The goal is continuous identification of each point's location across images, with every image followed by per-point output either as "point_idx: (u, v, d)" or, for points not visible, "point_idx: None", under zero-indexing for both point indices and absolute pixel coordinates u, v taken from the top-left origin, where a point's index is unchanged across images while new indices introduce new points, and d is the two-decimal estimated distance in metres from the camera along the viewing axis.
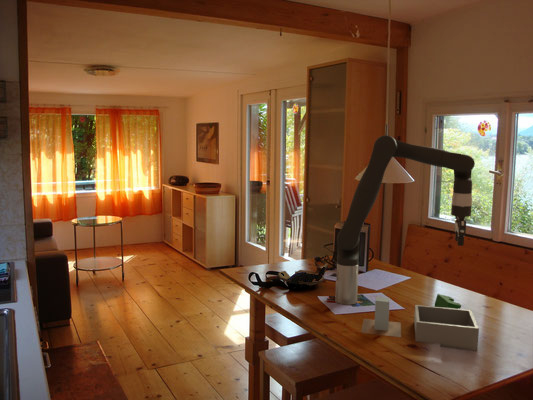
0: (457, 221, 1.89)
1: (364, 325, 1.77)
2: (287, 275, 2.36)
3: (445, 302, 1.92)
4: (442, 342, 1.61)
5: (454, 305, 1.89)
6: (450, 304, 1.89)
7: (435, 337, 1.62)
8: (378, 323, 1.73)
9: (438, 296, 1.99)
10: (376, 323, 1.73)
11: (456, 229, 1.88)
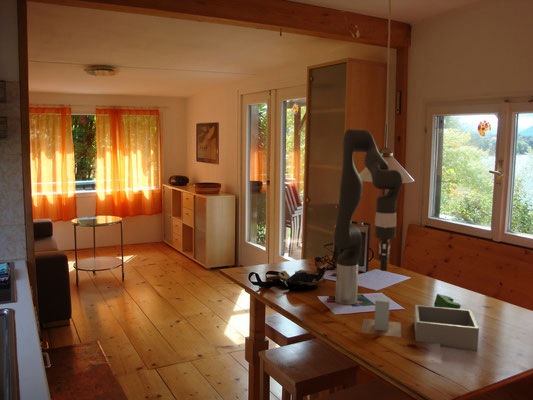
0: (380, 243, 1.70)
1: (364, 325, 1.77)
2: (287, 275, 2.36)
3: (444, 302, 1.92)
4: (442, 342, 1.61)
5: (453, 305, 1.89)
6: (449, 304, 1.89)
7: (435, 337, 1.62)
8: (378, 323, 1.73)
9: (438, 296, 1.99)
10: (376, 323, 1.73)
11: (379, 252, 1.70)
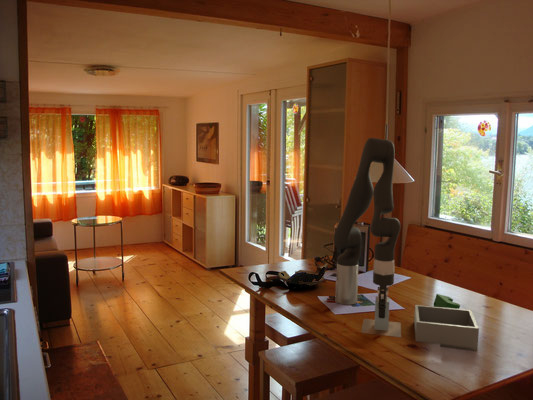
0: (378, 290, 1.72)
1: (364, 325, 1.77)
2: (287, 275, 2.36)
3: (444, 302, 1.92)
4: (442, 342, 1.61)
5: (453, 305, 1.89)
6: (449, 304, 1.89)
7: (435, 337, 1.62)
8: (378, 323, 1.73)
9: (437, 296, 1.99)
10: (376, 323, 1.73)
11: None
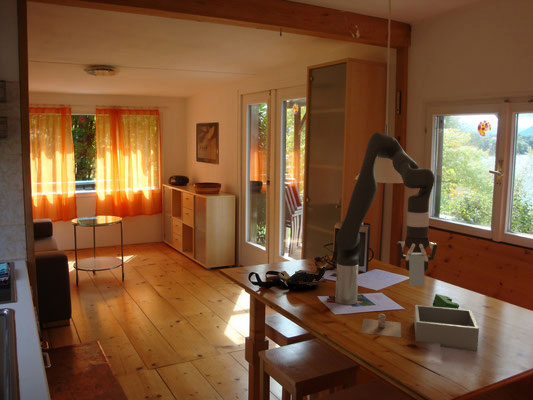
0: None
1: (364, 325, 1.77)
2: (287, 275, 2.36)
3: (443, 302, 1.92)
4: (442, 342, 1.61)
5: (452, 305, 1.89)
6: (448, 304, 1.89)
7: (435, 337, 1.62)
8: None
9: (436, 296, 1.99)
10: None
11: (411, 251, 1.71)
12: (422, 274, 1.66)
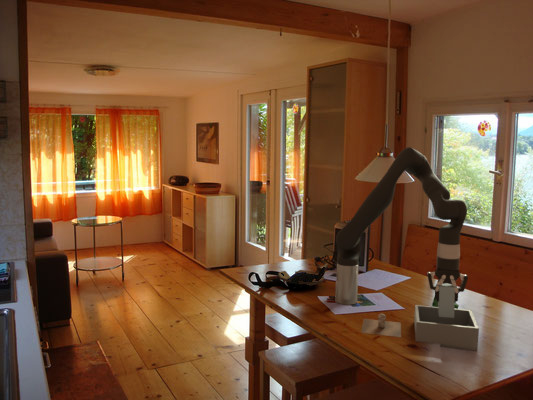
0: None
1: (364, 325, 1.77)
2: (287, 275, 2.36)
3: None
4: (442, 342, 1.61)
5: None
6: None
7: (435, 337, 1.62)
8: (438, 306, 1.70)
9: None
10: (438, 306, 1.71)
11: None
12: (452, 306, 1.65)
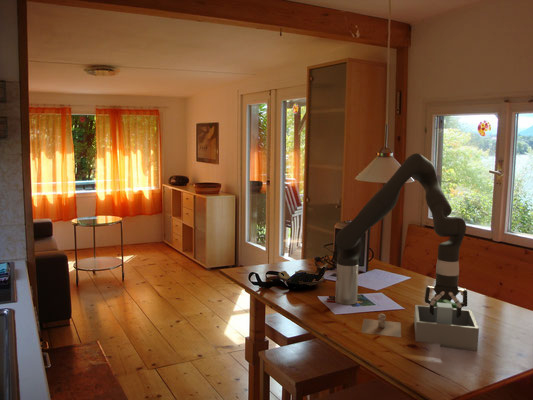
0: None
1: (364, 325, 1.77)
2: (287, 275, 2.36)
3: (442, 302, 1.92)
4: (442, 342, 1.61)
5: None
6: None
7: (435, 337, 1.62)
8: None
9: None
10: None
11: None
12: None
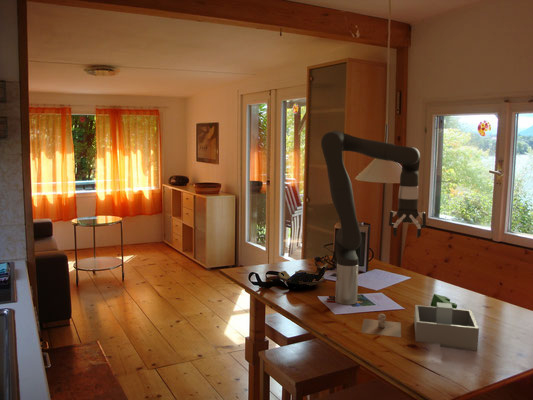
0: None
1: (364, 325, 1.77)
2: (287, 275, 2.36)
3: (441, 302, 1.92)
4: (442, 342, 1.61)
5: None
6: None
7: (435, 337, 1.62)
8: None
9: (434, 296, 1.99)
10: None
11: None
12: None
